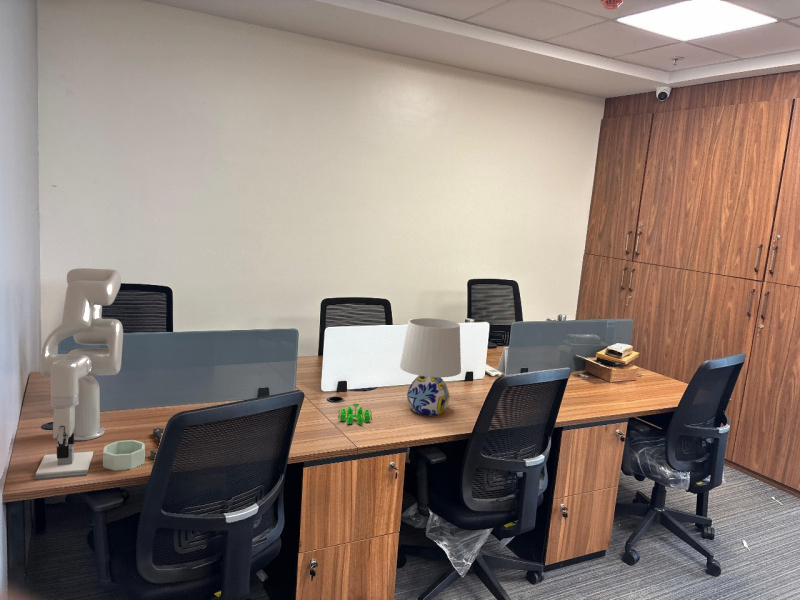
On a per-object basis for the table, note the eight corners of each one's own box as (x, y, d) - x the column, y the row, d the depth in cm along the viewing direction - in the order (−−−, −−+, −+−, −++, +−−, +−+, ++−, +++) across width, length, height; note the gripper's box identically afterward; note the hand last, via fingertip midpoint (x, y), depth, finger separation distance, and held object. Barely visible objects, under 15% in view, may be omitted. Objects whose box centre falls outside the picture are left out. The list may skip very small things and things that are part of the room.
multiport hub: (163, 468, 190) (163, 462, 190) (149, 457, 198) (150, 450, 197) (176, 465, 193) (176, 458, 193) (163, 454, 201) (163, 447, 200)
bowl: (106, 456, 195) (106, 441, 195) (145, 453, 200) (145, 439, 199) (101, 471, 184) (101, 456, 184) (143, 468, 189) (143, 453, 188)
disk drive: (152, 436, 216) (163, 450, 204) (152, 428, 215) (163, 442, 204) (181, 431, 222) (193, 444, 210) (181, 424, 222) (193, 437, 210)
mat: (46, 455, 193) (46, 454, 193) (94, 452, 198) (94, 450, 198) (34, 480, 176) (34, 478, 176) (86, 475, 181) (86, 474, 181)
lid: (45, 456, 191) (44, 440, 190) (93, 453, 196) (93, 437, 195) (35, 475, 178) (35, 457, 177) (87, 471, 183) (87, 454, 182)
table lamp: (412, 396, 281) (418, 314, 275) (465, 408, 270) (473, 323, 264) (386, 412, 257) (392, 322, 251) (444, 425, 246) (451, 332, 240)
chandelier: (377, 418, 250) (378, 402, 249) (365, 429, 236) (366, 412, 235) (345, 412, 255) (346, 396, 254) (331, 423, 240) (331, 406, 239)
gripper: (56, 391, 190) (57, 441, 193) (45, 409, 174) (46, 464, 177) (82, 390, 193) (83, 440, 195) (73, 408, 177) (74, 462, 180)
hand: (65, 451), depth 186 cm, fingers open, 9 cm apart
